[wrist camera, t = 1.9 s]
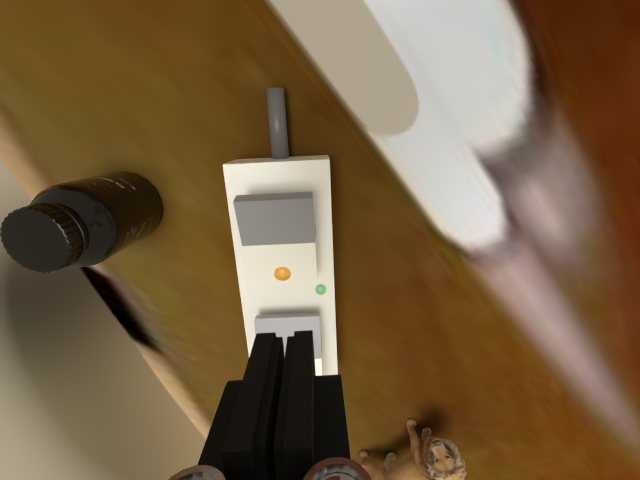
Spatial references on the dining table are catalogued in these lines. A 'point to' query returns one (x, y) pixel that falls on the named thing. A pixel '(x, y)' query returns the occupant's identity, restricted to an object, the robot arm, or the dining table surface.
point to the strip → (315, 178)
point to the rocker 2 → (293, 330)
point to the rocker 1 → (278, 236)
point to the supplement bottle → (81, 222)
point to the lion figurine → (420, 460)
